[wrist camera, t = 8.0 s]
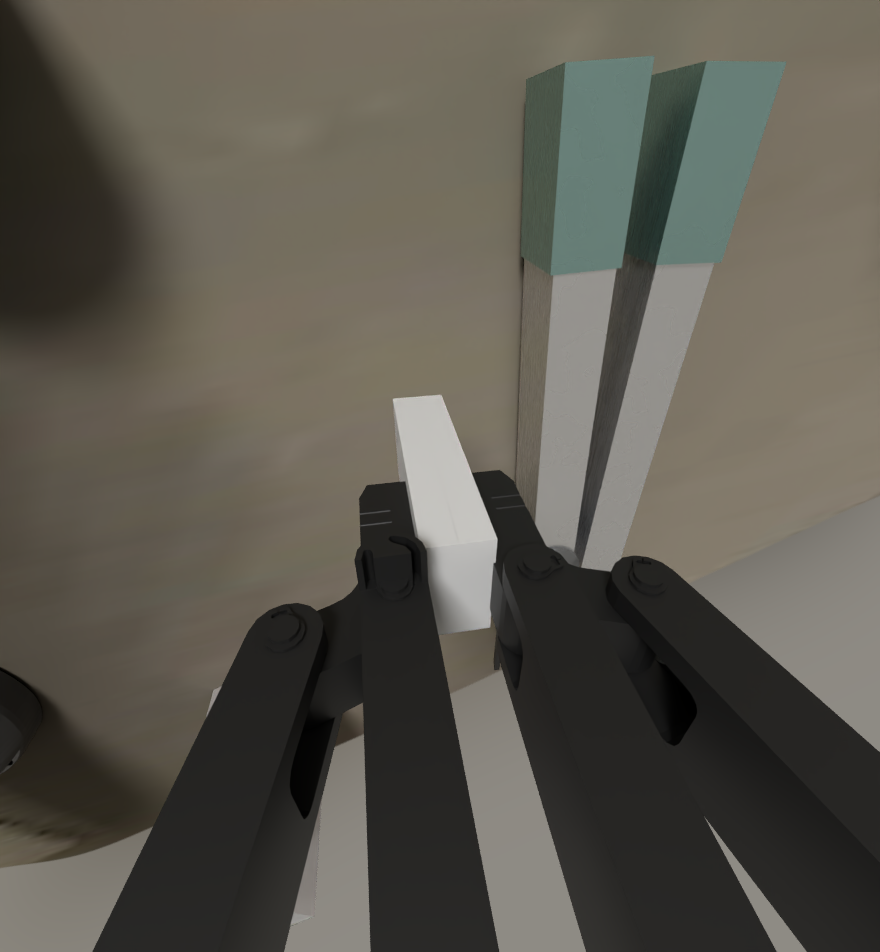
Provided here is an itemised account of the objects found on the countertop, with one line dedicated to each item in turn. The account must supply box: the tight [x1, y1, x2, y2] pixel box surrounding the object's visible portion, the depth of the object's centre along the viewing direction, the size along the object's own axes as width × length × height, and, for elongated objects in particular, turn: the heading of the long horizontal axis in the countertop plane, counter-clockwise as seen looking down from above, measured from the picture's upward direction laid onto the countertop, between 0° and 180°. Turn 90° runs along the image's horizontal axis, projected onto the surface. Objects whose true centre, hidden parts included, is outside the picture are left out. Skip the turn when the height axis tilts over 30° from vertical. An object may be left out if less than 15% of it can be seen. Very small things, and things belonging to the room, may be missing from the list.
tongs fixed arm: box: [574, 61, 786, 571], centre depth 24 cm, size 8×27×4 cm, turn 1°
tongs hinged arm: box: [516, 56, 654, 567], centre depth 22 cm, size 3×24×4 cm, turn 4°
